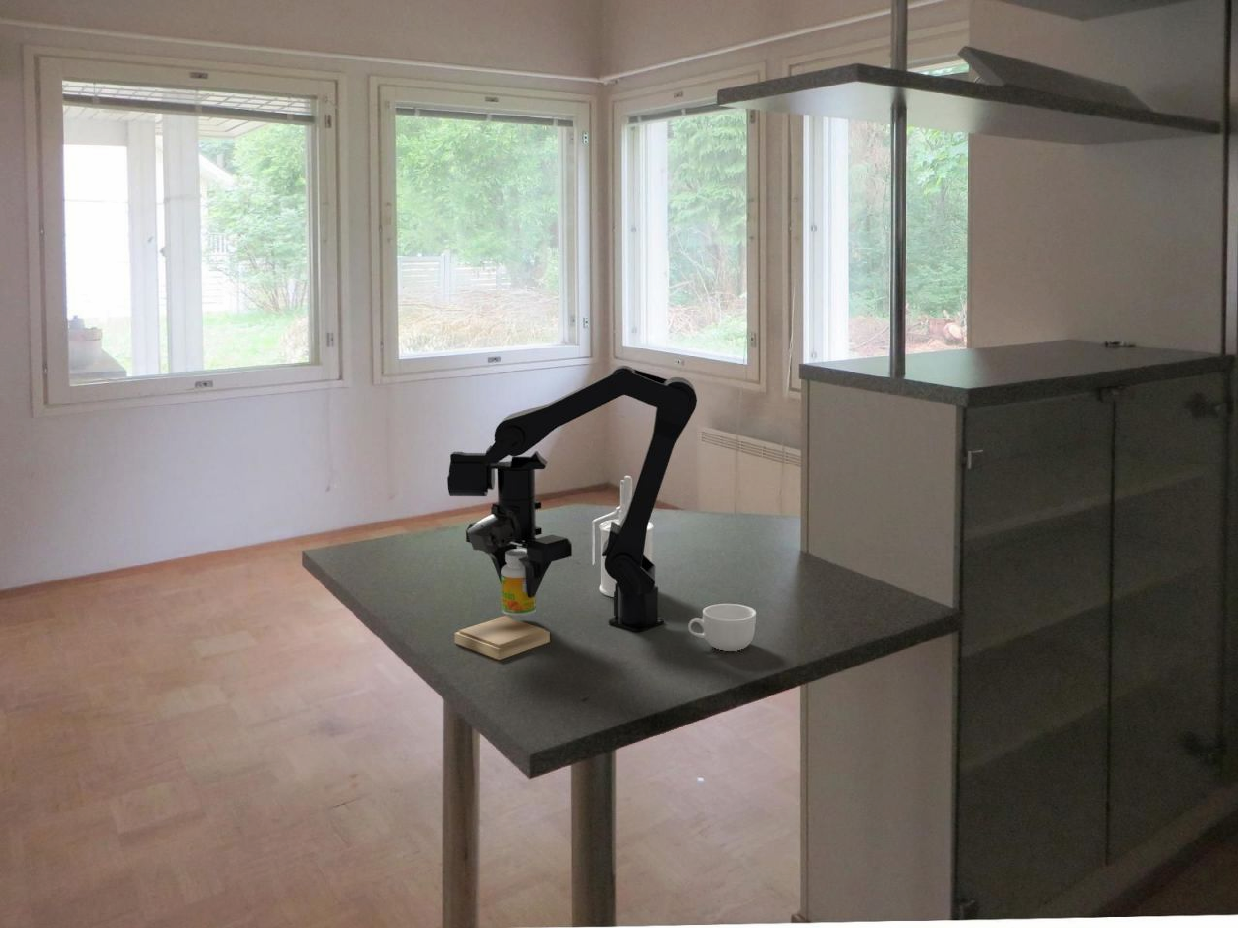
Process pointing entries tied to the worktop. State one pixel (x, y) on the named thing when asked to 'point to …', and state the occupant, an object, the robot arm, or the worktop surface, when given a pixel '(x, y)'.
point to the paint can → (625, 498)
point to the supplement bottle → (516, 586)
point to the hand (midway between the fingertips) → (518, 593)
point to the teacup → (727, 626)
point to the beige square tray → (502, 637)
